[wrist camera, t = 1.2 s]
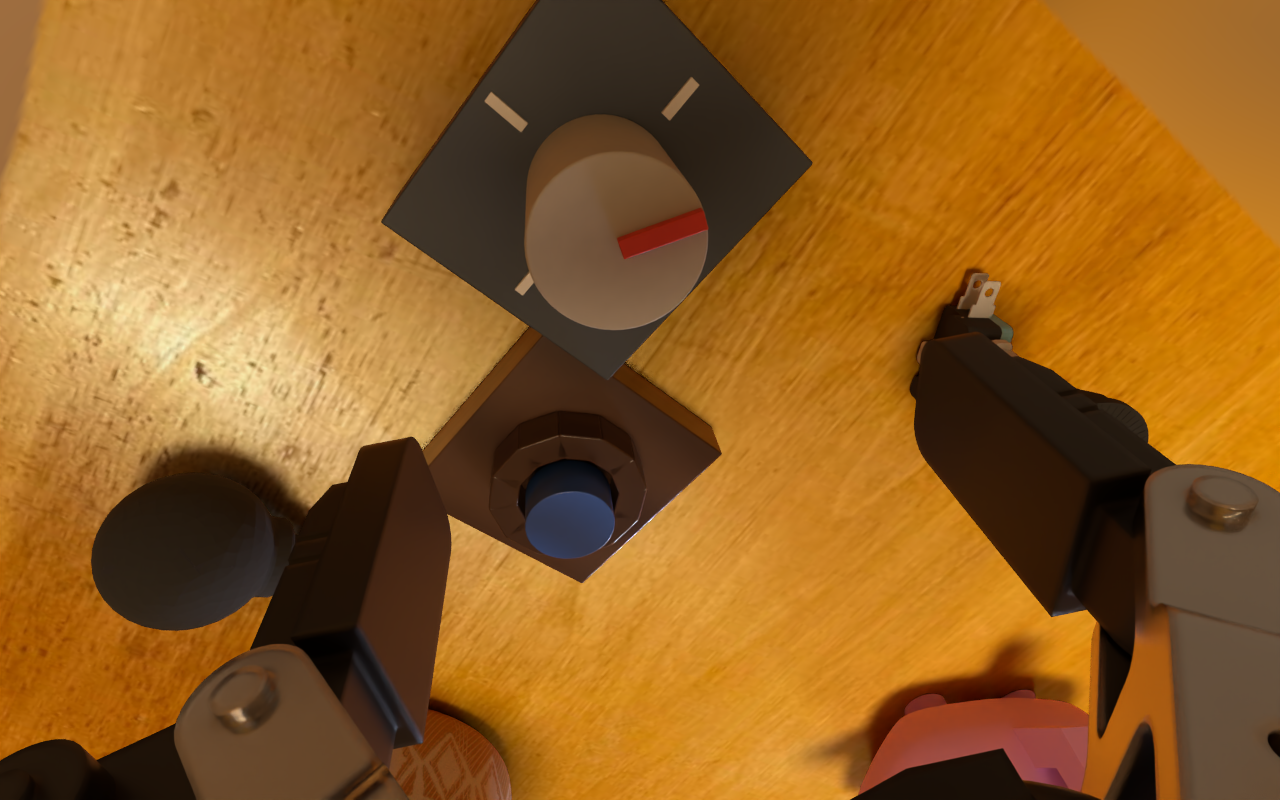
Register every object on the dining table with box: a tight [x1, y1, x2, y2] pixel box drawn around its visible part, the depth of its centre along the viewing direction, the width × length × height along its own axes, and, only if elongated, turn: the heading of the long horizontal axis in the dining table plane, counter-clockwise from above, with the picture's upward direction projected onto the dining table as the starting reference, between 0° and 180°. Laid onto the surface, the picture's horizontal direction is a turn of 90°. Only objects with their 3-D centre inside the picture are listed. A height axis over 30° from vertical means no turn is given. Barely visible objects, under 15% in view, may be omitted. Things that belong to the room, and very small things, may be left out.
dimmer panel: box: [381, 0, 813, 380], centre depth 24 cm, size 11×10×3 cm
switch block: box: [422, 327, 722, 583], centre depth 30 cm, size 10×10×4 cm
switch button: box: [525, 460, 615, 559], centre depth 28 cm, size 4×4×2 cm
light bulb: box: [91, 473, 298, 631], centre depth 30 cm, size 6×6×10 cm
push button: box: [910, 273, 1148, 443], centre depth 27 cm, size 7×5×10 cm
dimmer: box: [524, 114, 708, 330], centre depth 20 cm, size 5×5×6 cm
